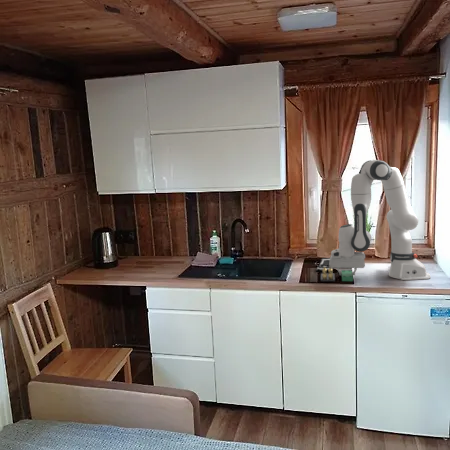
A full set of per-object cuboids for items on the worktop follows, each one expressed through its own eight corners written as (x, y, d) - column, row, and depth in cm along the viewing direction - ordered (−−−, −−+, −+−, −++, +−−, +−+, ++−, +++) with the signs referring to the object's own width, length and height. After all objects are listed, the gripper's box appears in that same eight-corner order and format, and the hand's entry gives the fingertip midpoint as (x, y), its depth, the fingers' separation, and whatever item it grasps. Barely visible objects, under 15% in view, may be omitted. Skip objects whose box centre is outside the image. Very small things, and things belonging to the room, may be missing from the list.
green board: (351, 274, 277) (351, 270, 277) (353, 281, 264) (352, 277, 263) (341, 274, 279) (341, 270, 278) (342, 281, 265) (342, 277, 265)
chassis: (334, 274, 279) (334, 266, 278) (334, 281, 266) (334, 272, 265) (320, 274, 281) (320, 266, 280) (320, 281, 268) (320, 272, 267)
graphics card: (336, 258, 307) (330, 268, 284) (336, 263, 307) (330, 273, 284) (320, 258, 310) (314, 267, 287) (320, 263, 311) (314, 273, 288)
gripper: (364, 250, 269) (365, 273, 272) (328, 251, 274) (329, 273, 276) (365, 253, 263) (365, 276, 266) (328, 253, 268) (329, 276, 270)
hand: (347, 275), depth 271 cm, fingers closed on green board, 6 cm apart
